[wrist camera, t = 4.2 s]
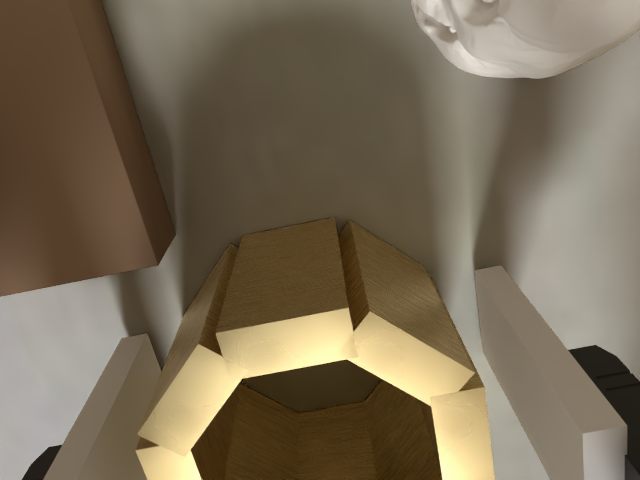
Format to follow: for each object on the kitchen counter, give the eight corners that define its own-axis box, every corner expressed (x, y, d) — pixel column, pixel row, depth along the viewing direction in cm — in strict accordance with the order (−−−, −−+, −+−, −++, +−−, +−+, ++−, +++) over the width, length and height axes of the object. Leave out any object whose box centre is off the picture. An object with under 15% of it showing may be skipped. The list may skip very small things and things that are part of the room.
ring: (227, 454, 18) (201, 608, 13) (158, 252, 15) (95, 356, 11) (450, 414, 18) (503, 558, 13) (420, 200, 15) (473, 284, 10)
